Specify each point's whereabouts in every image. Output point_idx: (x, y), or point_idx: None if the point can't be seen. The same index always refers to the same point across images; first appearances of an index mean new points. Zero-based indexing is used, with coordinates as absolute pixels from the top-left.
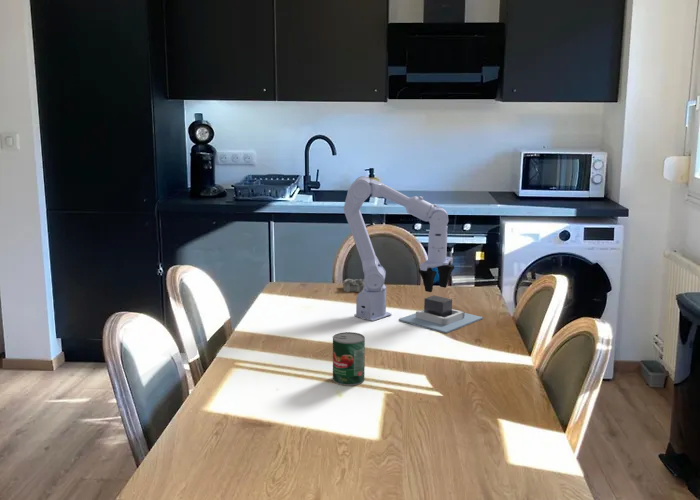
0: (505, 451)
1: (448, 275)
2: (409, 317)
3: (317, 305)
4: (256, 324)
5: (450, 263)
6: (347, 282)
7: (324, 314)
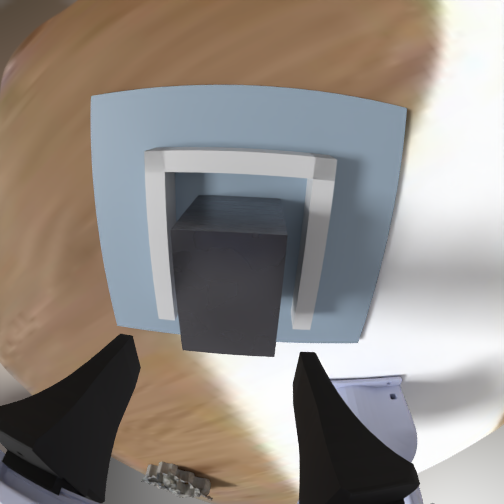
0: None
1: (77, 391)
2: (317, 329)
3: None
4: (467, 442)
5: (3, 456)
6: (204, 496)
7: None
